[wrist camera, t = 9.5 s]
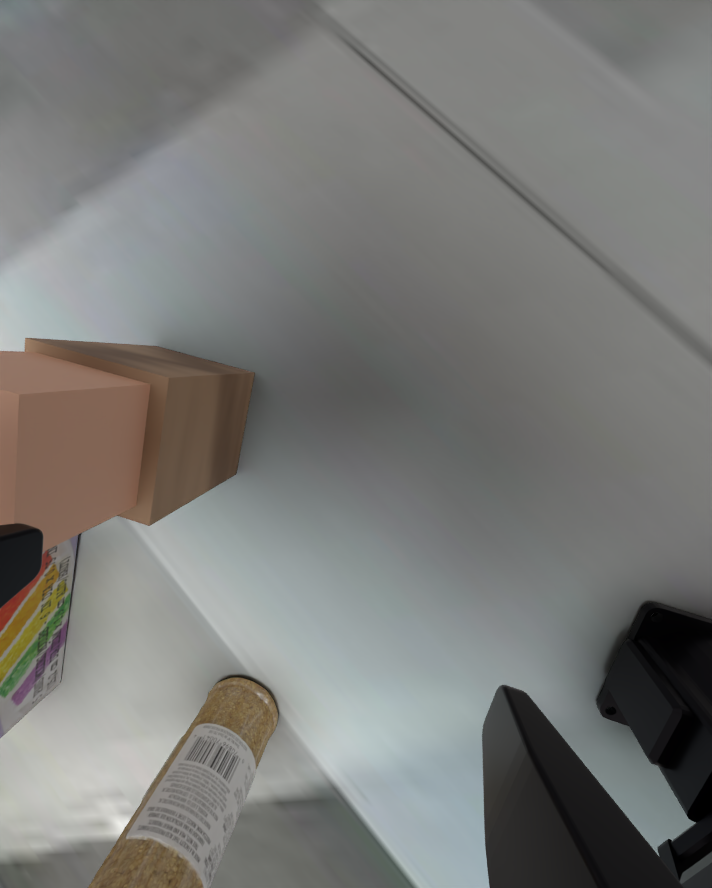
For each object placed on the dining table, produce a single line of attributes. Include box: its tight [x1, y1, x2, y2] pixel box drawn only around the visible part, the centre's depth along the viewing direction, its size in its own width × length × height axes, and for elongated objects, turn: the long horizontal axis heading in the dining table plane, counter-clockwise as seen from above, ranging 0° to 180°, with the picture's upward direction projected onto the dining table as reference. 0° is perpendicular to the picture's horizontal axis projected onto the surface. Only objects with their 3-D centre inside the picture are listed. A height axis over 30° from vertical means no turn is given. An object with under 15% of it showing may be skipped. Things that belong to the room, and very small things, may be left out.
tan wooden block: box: [25, 338, 255, 526], centre depth 18 cm, size 6×6×7 cm
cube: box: [0, 351, 151, 552], centre depth 12 cm, size 4×4×4 cm
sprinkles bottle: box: [88, 678, 278, 888], centre depth 18 cm, size 5×5×14 cm
